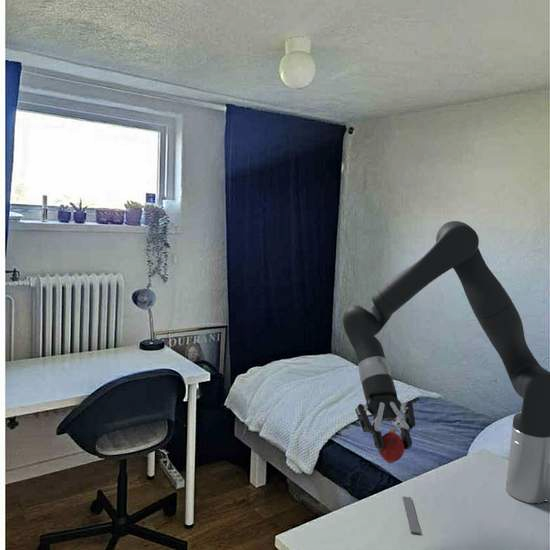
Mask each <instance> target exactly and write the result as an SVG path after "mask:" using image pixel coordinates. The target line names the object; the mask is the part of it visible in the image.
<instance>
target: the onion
mask: <svg viewBox="0 0 550 550" xmlns="http://www.w3.org/2000/svg"><path fill="white" fill-rule="evenodd" d="M382 438H383V442H384V446H385V449H384V450H383V451H379V450H377V451H378V453H379V455H380V457H381V458H382V459H383V460H384V461H386V462H387V463H388V464H393V463H394V462H398V461H399V460H400V459H401V458H402V456H404V453H405V449H404V443H403V441H402V438H401V436H399V435H398V434H397V433H396V429H394V428H391V429H390V430H389V432H386V433H385V434H383V435H382Z"/></svg>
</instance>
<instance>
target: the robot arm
mask: <svg viewBox="0 0 550 550" xmlns="http://www.w3.org/2000/svg"><path fill="white" fill-rule="evenodd" d="M435 241H436V242H435V243H434V245H432V247H431V248H430V249H429V250H428V251H427V252H426V253H425V254H424V255H423V256H422V257H420V258H419V259H418V260H417V261H416V262H414V263H412V264H411V265H410V266H408V267H406V268H405V269H404V270H402V271H400V272H399V273H397V274H396V275H394V276H393V277H392V278H391V279H389V280H387V282H386V283H384V284H383V285H382V286H381V287H380V288H379V289H378V290H376V291H375V292H374V294H372V297H371V301H372V304H373V306H372V307H371V308H370V309H369V310H368V309H366V308H364V307H363V306H361V305H350V306H349V307H347V309H346V310H345V311H344V312H343V318H342V325H343V329H344V331H345V334H346V335H347V338H348V340H349V342H350V344H351V346H352V348H353V350H354V353H355V354H354V355H355V358H356V363H357V367H358V374H359V380H360V383H361V386H362V387H361V388H362V391H363V395H364V398H365V401H366V403H365V404H362V403H359V404H358V405H357V406H356V408H354V409H355V410H354V411H355V414H356V416H357V418H358V419H357V420H358V422H359V423H360V424H359V425H360V426H361V428H362V431H363V433H364V434H365V433H366V434H367V433H369V434H371V435H372V439H373V444H374V447H375V449H378V450H379V451H383V450H384V449H385V446H384V442H383V438H382V436H383V435H382V434H383V433H382V431H380V430H381V425H382V424H381V423H382V422H385V421H386V422H392V423H391V424H393V426H396V428H397V429H398V431H399V432H400V438H401V439H402V441H403V443H404V450H409V449H410V448H412V445H413V440H412V436H411V434H410V431H411V430H413V428H415V427H416V419H415V413H414V411H415V410H414V407H413V406H414V405H413V403H412V402H411V401H408V402H407V403H404V402H401V401H400V400H399V398H398V392H397V390H396V386H395V383H394V379H393V375H392V372H391V369H390V366H389V364H388V361H387V359H386V356H385V352H384V347H383V345H382V344H381V342H380V340H379V339H378V338H377V337H376V335H377V334H379V333H380V331H382V329H383V328H384V327H385V325H386V324H387V323H388V321H389V320H390V319H391V317H392V315H394V314H395V312H397V311H398V310H399V309H400V308H401V307H403V306H404V305H405V304H406V303H408V302H409V301H410V300H412V298H414V297H415V296H416V295H417V294H418V293H420V292H421V291H422V290H423V289H424V288H425V287H427V286H428V285H429V284H430V283H432V282H434V280H436V279H438V278H439V277H441V276H442V275H443V274H445V273H447V272H448V271H450V270H452V269H453V271H454V272H455V273H456V276H457V277H458V279H459V281H460V284H461V286H462V288H463V291H464V294H465V296H466V299H467V300H468V303H469V306H470V308H471V310H472V312H473V314H474V316H475V318H476V320H477V321H478V324H480V326H481V328H482V330H483V331H484V334H485V335H486V337H487V338H488V340H489V342H490V343H491V345H492V346H493V348H494V349H495V351H496V353H498V355H499V357H500V359H501V361H502V364H503V365H504V369H505V371H506V372H507V373H506V374H507V375H508V379H509V381H510V383H511V385H512V388H513V389H514V391H515V392H516V394H517V395H519V397H521V398H522V405H521V411H520V412H518V413H516V414H515V415H514V416H513V418H512V427H511V437H510V446H509V454H508V455H509V456H508V463H507V471H506V472H507V473H506V481H505V482H506V484H505V491H506V493H508V495H509V496H511V497H513V498H515V499H516V500H518V501H521V502H524V503H527V504H534V503H538V504H541V503H540V502H543V501H545V500H547V501H549V502H550V371H549V370H547V369H546V368H544V367H543V366H542V365H541V364H540V362H538V360H537V359H536V357H535V356H534V354H533V353H532V352H531V350H530V347H529V346H528V344H527V342H526V337H525V331H524V326H523V325H524V324H523V321H522V318H521V316H520V313H519V311H518V310H517V307H516V306H515V304H514V302H513V301H512V299H511V297H510V295H509V294H508V292H507V291H506V289H505V288H504V286H503V285H502V284H501V282H500V281H499V280H498V278H497V277H496V275H495V274H494V273H493V272H492V271H491V269H490V268H489V266H488V264H487V263H486V261H485V260H484V257H483V255H482V253H481V250H480V248H479V244H480V239H479V235H478V233H477V232H476V230H475V229H474V228H473V227H472V226H470V225H469V224H467V223H465V222H462V221H459V220H452V221H449V222H446V223H444V224H442V226H440V228H439V230H438V231H437V234H436V238H435ZM400 410H401V411H402V412H400ZM367 413H369V414H371V415H372V419H371V420H372V421H370V418H369V416H368V414H367ZM402 413H403V414H404V416H403V414H402ZM378 450H377V451H378ZM379 451H378V452H379ZM543 503H544V502H543Z"/></svg>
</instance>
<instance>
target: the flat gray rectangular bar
mask: <svg viewBox="0 0 550 550" xmlns="http://www.w3.org/2000/svg"><path fill="white" fill-rule="evenodd" d="M402 501H403V504H404V510H405V513H406V518H407V521H408V526H409V530H410V533H411V534H415V535H421V534H422V533H421V529H420V526H419V525H420V524H419V522H418V517H417V515H416V509H415V506H414V504H413V503H414V502H413V500H412V497H411V496H402Z"/></svg>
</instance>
